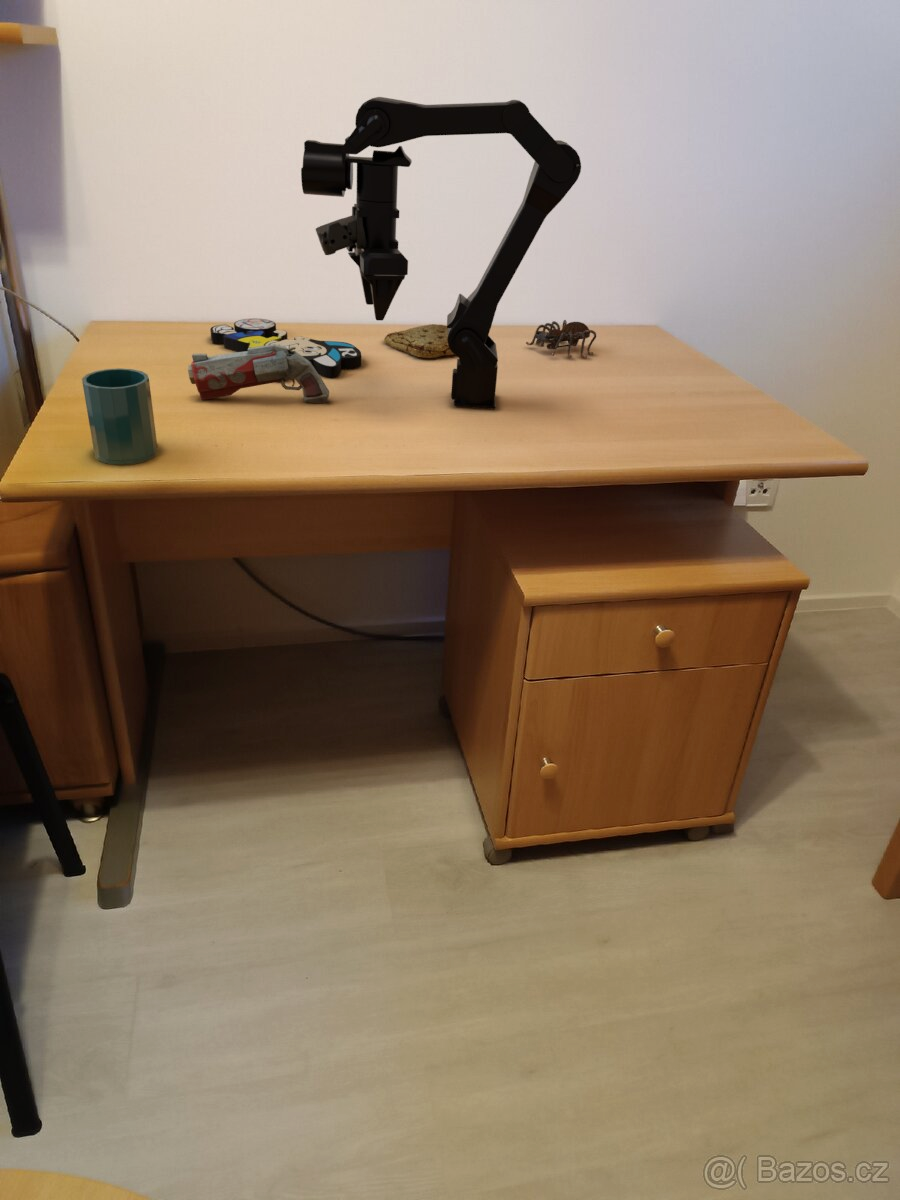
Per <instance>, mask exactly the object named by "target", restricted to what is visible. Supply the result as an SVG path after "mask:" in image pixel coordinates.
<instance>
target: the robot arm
mask: <svg viewBox="0 0 900 1200" xmlns="http://www.w3.org/2000/svg"><path fill="white" fill-rule="evenodd" d="M354 124H355V128H354V130H353V131H352V132H351V134H350V135H348V136H347V137H346V138H344V143H333V142H331V143H330V142H321V141H319V140H314V139H307V140H305V141H304V142H303V150H304V151H303V157H302V167H301V169H300V178H301V179H300V180H301V189H302V192H303V194H304V195H312V196H325V197H326V196H327V197H338V198H340V197H341V198H344V197H345V195H346V191H347V190H353V185H354V164H356V199H355V200H356V201H355V202H356V203H353V206H351V215H349V216H346V217H342V218H339V219H337V220H333V221H331V222H328V223H325V224H323V225H320V226H317V227H316V228H315V233H316V235H317V238H318V241H319V243H320V246H321V249H322V251H323V253H324V255H325V256H331V255H334V254H336V252H338V251H341V250H343V249H346V250H347V254H348V256H349V257H350V259H351V260H352V261H353V262H354V263H355V264H356V265H357V266H358V270H359V275H360V280H361V286H362V290H363V296H364V301H365V304H366V305H369V306H371V305H373V311H374V317H375V320H376V321H384V320H385V318H386V315H387V313H388V312H389V309H390V307H391V304H392V302H393V300H394V299H395V296H396V294H397V292H398V290H399V288H400V286H401V284H402V282H403V280H405V278H406V276H407V275H408V273H409V260H408V259H407V258H406V256H405V255H404V254H403V253H402V252H401V251H400V250H399V240H398V239H397V219H400V210H399V208H397V207H398V179H399V178H398V176H399V167H403V168H409V167H410V166H411V165H412V162H413V160H412V159H411V158H410V156H408V155H407V153H406V152H405V150H404V147H403V146H402V145H398V147H397V148H396V150H394V151H390V150H378V149H377V150H376V149H374V150H373V151H372V157H368V156H351V155H359V153H361V152H362V151H365V150H366V149H367V148H368V147H373V148H383V147H387V146H393V145H395V144H400V143H404V142H408V141H412V140H416V139H419V138H424V137H432V136H433V137H436V136H439V137H440V136H461V135H462V136H463V135H465V136H466V135H493V134H495V135H496V134H497V135H498V134H509V135H511V136H512V137H513V138H514V139H515V141H517V143H518V144H519V145H520V147H522V148H523V150H525V152H526V153H527V154H528V155H529V156H530V157H531V158H532V159H533V160H534V163H533V166H532V169H531V172H530V175H529V178H528V181H527V185H526V189H525V191H524V195H523V199H522V201H521V204H520V205H519V207H518V209H517V210H516V213H515V214H514V217H513V218H512V219H511V222H510V224H509V226H508V228H507V229H506V231H505V234H504V235H503V237H502V239H501V240H500V242H499V245H498V247H497V248H496V251H495V252H494V254H493V256H492V258H491V260H490V261H489V263H488V266H487V267H486V269H485V270H484V273H483V274H482V276H481V279H480V280H479V282H478V284H477V286H476V288H475V289H474V290H473V291H472V292H471V293H470V294H469V295H468V297H466V296H464V295H463V294H462V293H459V294H458V295H457V299H456V302H455V304H454V305H455V306H454V307H453V309H452V310H451V311H450V313H448V314H447V315H446V326H447V328H448V339H447V341H448V345H449V348H450V350H451V351H452V352H453V353H454V355H455V356H456V357H458V358H457V359H456V368H453V369H452V376H451V377H452V378H451V392H450V393H451V394H450V395H451V396H450V398H451V400H453V406H454V407H457V408H471V409H472V408H473V409H492V410H495V409H496V407H497V406H496V405H497V404H496V391H497V378H498V368H499V366H498V362H499V359H498V349H497V344H496V342H495V341H494V340H493V339H492V338H491V336H489V334H490V331H491V328H492V325H493V321H494V318H495V315H496V311H497V309H498V305H499V303H500V301H501V299H502V298H503V296H504V294H505V292H506V291H507V288H508V286H509V285H510V283H511V281H512V279H513V277H514V276H515V274H516V272H517V270H518V269H519V266H520V265H521V263H522V261H523V259H524V258H525V256H526V254H527V252H528V250H529V248H530V246H531V245H532V243H533V241H534V240H535V238H536V236H537V234H538V233H539V230H540V228H541V226H542V225H543V224H544V222H545V219H546V218H547V217H548V215H549V214H550V213H551V212H552V211H553V210H554V209H555V208H556V206H557V205H558V204H560V202H561V201H562V200H563V199H564V198H565V197H566V195H567V194H568V193H569V191H570V190H571V189H572V188H573V186H574V185H575V184H576V182H577V181H578V179H579V177H580V175H581V171H582V162H581V157H580V156H579V153H578V151H577V150H576V149H574V148H573V147H572V146H571V145H570V144H569V143H568V142H566V141H564V140H558V139H557V140H555V138H553V136H552V135H551V134H550V133H549V132H548V131H547V130H546V129H545V127H544V126H543V125H542V124H541V123H540V122H539V121H538V120H537V119H536V118H535V117H534V115H533V114H532V113H531V112H530V109H529V107H528V106H527V105H526V103H524V102H522V101H521V100H520V99H519V100H518V99H511V100H508V101H498V102H497V101H495V102H473V103H472V102H469V103H442V104H441V103H440V104H437V103H436V104H423V103H417V102H412V101H406V100H402V99H395V98H389V97H383V96H376V97H371V98H369V99H368V100H365V102H363V103H362V104H361V105H360V106H359V108H358V109H357V112H356V114H355V123H354Z"/></svg>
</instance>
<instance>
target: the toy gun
mask: <svg viewBox="0 0 900 1200" xmlns="http://www.w3.org/2000/svg"><path fill="white" fill-rule="evenodd" d="M294 349H296V347H291V348H290V349H289V350H288V349H287V348H286V347H284V346H280V345H276V344H272V345H265V346H258V347H251V348H248V351H244V352H237V351H235V352H229V353H222V354H221V353H220V354H216V355H215V354H214V355H211V356H208V354H207V353H192V354H191V357H192V362H191V363H190V364H188V366H187V372H188V373H187V374H188V378H189V382H190V383H191V385H195V387H196V390H197V393H198V394H199V397H200V400H201V401H204V400H205V401H206V400H212V399H217V398H223V397H228V396H232V395H234V394H235V393H236V392H237V391H239V390H241V389H245V388H246V389H247V388H253V387H258V386H263V385H268V384H274V383H280V384H281V387H282V388H283V389H285V390H287V391H300V390H301V389H302V397H303V401H304V402H305V403H308V404H309V403H310V404H326V403H327V402H328V400H329V397H330V389H329V388H328V387H327V385H326V384H325V382H324V380H323V378H322V376H321V375H319V374H318V373H317V371H316V370H315V368H314V367H313V365H312V364H311V362H310V361H308V360H307V359H306V358H304V357H303V356H301V355H300V354H299V353H297V352H296V351H292V350H294ZM283 378H284V379H285V380H287V381H289V380H291V381H292V385H291V386H288V385H286V381H284V379H283ZM296 382H297V383H298V385H299V386H295V384H296Z"/></svg>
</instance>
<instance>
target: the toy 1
mask: <svg viewBox="0 0 900 1200" xmlns="http://www.w3.org/2000/svg"><path fill="white" fill-rule="evenodd" d="M233 325H234V326H230V325H228V324H218V325H217V324H216V325H214V326H211V327H210V329H209V330H210V341H211V343H212V344H214V345H222V346H223V348H224V349H227V350H230V351H233V352H244V351H248V348H251V347H258V346H265V345H272V344H276V345H280V346H284V347H286V348H287V349H288V350H289V349H290V348H291V347H296V349H294V350H292V351H296V352H297V353H299V354H300V355H301V356H303V357H304V358H306V359H307V360H308V361H310V362H311V364H312V365H313V367H314V368H315V370H316V371H317V373H318V374H319V376H320V377H324V378H327V379H335V378H338V377H339V376H340V375H341V373H342V370H355V369H359V368H361V366H362V351H361V350H360V349H359V348H358V347H356V346H355V345H354V344H352V343H349V342H344V341H336V340H335V341H334V340H319V339H313V338H310V337H305V336H295V337H294V338H293V339H291V338H290V339H288V331H287V330H285V329H277V323H276V322H275V321H273V320H270V319H265V318H242V319H238V320H236V321H235V322H234V323H233ZM283 379H284V378H283ZM287 381H288V380H285V379H284V382H287Z"/></svg>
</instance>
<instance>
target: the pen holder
mask: <svg viewBox="0 0 900 1200" xmlns="http://www.w3.org/2000/svg"><path fill="white" fill-rule="evenodd" d="M81 381H82V388H83V394H84V400H85V405H86V406H85V407H86V413H87V416H88V417H87V419H88V424H89V430H90V431H89V432H90V436H91V443H92V448H93V454H94V457H95V459H96V460H97V461H99V462H101V463H103V464H107V465H114V466H115V465H116V466H128V465H136V464H140V463H144V462H147V461H150V460H151V459H153V458H154V457H156V456H157V455H158V451H159V450H158V441H157V433H156V423H155V416H154V408H153V400H152V394H151V393H152V392H151V384H150V378H149V374H148V373H146V372H144V371H141V370H138V369H132V368H119V367H117V368H106V369H105V368H104V369H100V370H96V371H92V372H89V373H86V374H85V375H84V376H83V377H82V378H81Z"/></svg>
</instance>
